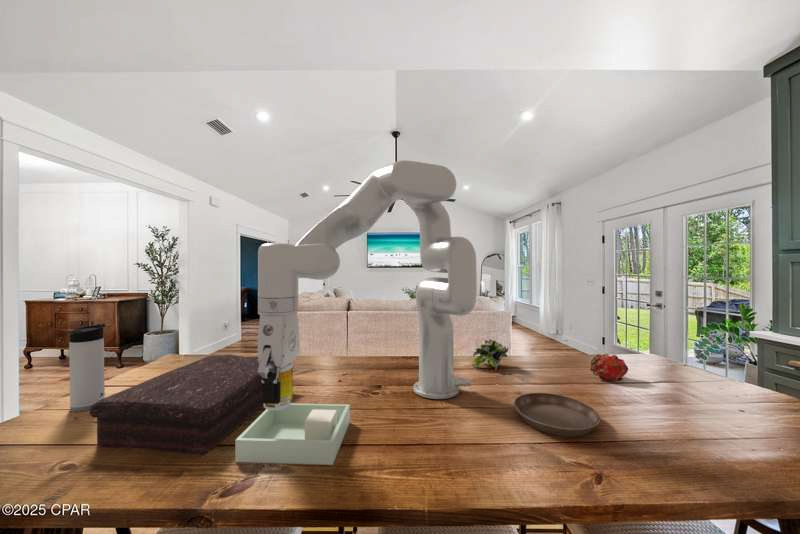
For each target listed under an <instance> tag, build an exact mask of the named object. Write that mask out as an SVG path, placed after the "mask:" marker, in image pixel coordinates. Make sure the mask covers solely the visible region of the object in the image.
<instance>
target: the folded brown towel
mask: <svg viewBox="0 0 800 534" xmlns="http://www.w3.org/2000/svg"><path fill="white" fill-rule="evenodd" d="M258 368H259V364H258V356H245V355H244V356H243V355H230V354H224V355H223V354H215V355H213V354H212V355H207V356H204V357H202V358H200V359H198V360H195V361H193V362H191V363H189V364H186V365H183V366H180V367H178V368H175V369H172V370H169V371H166V372H163V373H162V374H160V375H157V376H155V377H153V378H150V379H147V380H145V381H143V382H141V383H138V384H136V385H133V386H130V387H128V388H126V389H124V390H121V391H119V392H116V393H114V394H112V395H109V396H106V397H105V398H104V399H101V400H99V401H97V402H96V403H94V404H93V405H92V406H91V408H90V410H89V416H91V417H92V418H96V442H97V443H96V446H97V447H99V448H114V449H115V448H117V449H118V448H119V449H121V448H123V449H125V448H126V449H127V448H128V449H137V448H138V450H139V449H141V450H155V451H163V452H164V451H165V452H174V453H182V454H189V455H196V456H205V455H206V454H208V453H210V451H213V449H215V448H216V447H218V446H219V445H220V444H221V443H222V442H223V441H224V440H226V439H227V438H228V437H229V436H230V435H231V434H233V433H234V432H235V431H236V430H238V428H239V427H241V426H242V425H243V424H244V423H245V422H246V421H248V419H250V418H251V417H252V416H253V415H255V413H257V412H258V411H260V410H261V409H262V408H264V406H263V383H262V378H261V376H260V375H259V373H258Z"/></svg>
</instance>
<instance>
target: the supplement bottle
mask: <svg viewBox="0 0 800 534" xmlns="http://www.w3.org/2000/svg"><path fill="white" fill-rule="evenodd" d="M269 366H276V365H275V363H270V364H269ZM269 371H270V372H272V373H273V375H274V371H275V369H269ZM293 373H294V364H293V365H292V363H291V362H290V363H289V364H288V365H286V366H285V367H283V368H280V372H279V380H278V382H280V403H279V404H264V403H263V408H264V409H265V410H266V409H268V410H281V409H284V408H287V407H289V406H290V405H291V404H292V403H294V402H293V401H294V400H293V398H294V396H293V395H294V394H293V393H294V391H293V390H294V377H293V376H294V374H293Z"/></svg>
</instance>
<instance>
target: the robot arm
mask: <svg viewBox="0 0 800 534" xmlns="http://www.w3.org/2000/svg"><path fill="white" fill-rule="evenodd" d="M456 189H457V180H456V177H455V175H454V173H453V172H452V170H451V169H450V168H448V167H447V166H443V165H440V164H436V163H435V164H433V163H428V162H427V163H426V162H421V161H414V160H406V159H405V160H403V159H402V160H397V161H394V162H392V163H388V164H387V165H384V166H381V167H378V168H377V169H376V170H374V171H373V172H372V173H370V175H368V176H367V177H366V178H365V180H364V181H363V182H362V183H361V184H360V185H359V186H358V187H357V188H356V189H355V190H354V191H353V192H352V193H351V195H349V196H348V197H347V198H346V199H345V200H344V201H343V202H342V203H341V204H340V205H339V206H338V207H336V208H334V210H332V211H331V212H330V213H329V214H328V215H327V216H325V217H324V218H323V219H322V220H320V221H319V222H318V223H317V224H315V225H314V226H313V227H312V228H311V229H310V230H309V231H307V233H306V234H305V235H304V236H303V237H302V238H301V239H300V240H299V241H298V242H297V243H295V244H293V243H282V242H267V243H262V244H261V245H260V246H259V247H258V250H257V314H258V315H259V324H258V334H257V357H258V364H259V368H258V373H259V375H260V376H261V378H262V383H263V403H264V404H279V403H280V382H278V380H279V372H280V368H283V367H285V366H286V365H288V364H289V363H290V362H291V363H292V365H293V366H294V360H295V359H296V358H297V357H299V355H300V351H301V350H300V349H301V347H300V329H299V328H300V327H299V318H298V313H299V279H308V280H309V279H310V280H318V281H319V280H322V281H323V280H326V279H329V278H331V277H333V276H334V275H335V274H336V273H337V272H338V270H339V269H340V265H341V259H340V255H339V253H338V251H337V250H336V249H338V248H339V247H340V246H342V245H343V244H345V243H347V242H349V241H351V240H353V239H356V238H358V237H360V236H362V235H363V234H365V233H366V232H368V231H369V230H371V229H372V227H374V225H375V224H376V223H377V222H378V220H379V219H380V218H381V217H382V216H383V215H384V213H386V211H387V210H388V209H389V208H390V207H391V206H392V205H393V204H394V203H395V202H396V201H400V200H402V201H403V202H404V203H405V205H407V206H408V207H409V208H410V209H411V210H412V211H413V212H414V214H415V215H416V217H417V221H418V224H419V249H420V250H419V254H420V255H419V256H420V264H421V266H422V268H423V269H424V270H425V271H427V272H431V273H438V274H439V273H441V274H442V273H443V274H447V277H439V276H438V277H436V276H435V277H434V276H433V277H432V276H431V277H427V278H425V279H423V280H421V281H420V282H419V283H418V285H417V287H416V289H415V302H416V307H417V312H418V381H416V382H415V383H414V384H413V387H412V389H413V392H414V393H415V394H417V396H420V397H422V398H425V399H430V400H431V399H433V400H447V399H450V398H454V397H456V396H457V395H458V394H459V392H460V386H462V387H471V385H472V383H471V382H472V381H471V379H470V378H466V377H465V376H456V375H455V373H454V337H455V335H454V331H455V330H454V324H453V320H452V318H451V315H452V316H460V317H462V316H467V315H469V314H470V313H472V311H473V310H474V309H475V306H476V303H477V295H478V294H477V288H478V286H477V285H478V284H477V282H478V280H477V279H478V278H477V277H478V276H477V254H476V253H477V252H476V249H475V247H474V244H472V242H471V241H470V240H469V239H468V238H466V237H463V236H452V231H451V218H450V215H449V213H448V211H447V209H446V207H445V206H444V205H443V204H442V203H443V202H445V201H448V200H449V199H451V198H452V197H453V196H454V194H455V193H456ZM441 202H442V203H441ZM270 363H275V365H276V366H269V364H270ZM269 369H275V371H274V375H273V373H272V372H270V371H269Z"/></svg>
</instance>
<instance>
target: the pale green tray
mask: <svg viewBox="0 0 800 534" xmlns="http://www.w3.org/2000/svg"><path fill="white" fill-rule="evenodd" d="M313 409H314V410H337V426H336V428H335V430H334V432H333V434H332V436H331V439H330V440H305V420H306V418H307V417H308V415H309V414H310V413H311V411H312V410H313ZM350 410H351V405H350V404H347V403H346V404H340V403H338V404H335V403H299V402H297V403H294V402H292V404H291V405H290V406H289V407H287V408H284V409H281V410H268V409H266V408H265V410H264V411H263V412H262V413H261V414H260V415H259V416H257V418H256V419H255V420H254V421H253V422H251V424H250V425H249V426H248V427H247V428H246V429H244V430H243V432H242V433H241V434H240V435H239V436H238V437H237V438H236V439H235V442H234V443H235V448H234V449H235V453H234V454H235V455H234V456H235V463H253V464H254V463H255V464H257V463H258V464H287V465H288V464H289V465H290V464H293V465H294V464H295V465H326V466H327V465H329V466H333V465H334V463H335V460H336V458H337V456H338V453H339V449H340V448H341V446H342V442H343V440H344V438H345V435H346V433H347V430H348V427H349V425H350V423H351V415H350V414H351V411H350Z"/></svg>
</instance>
